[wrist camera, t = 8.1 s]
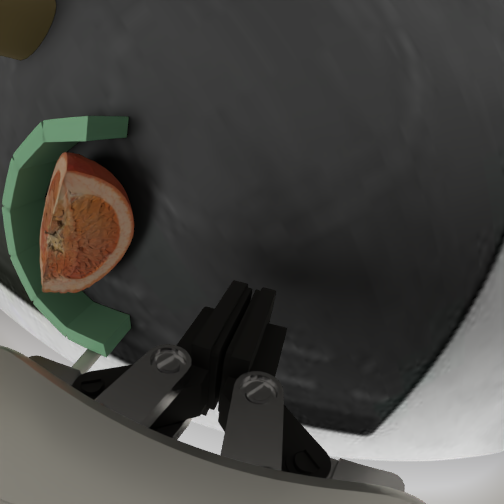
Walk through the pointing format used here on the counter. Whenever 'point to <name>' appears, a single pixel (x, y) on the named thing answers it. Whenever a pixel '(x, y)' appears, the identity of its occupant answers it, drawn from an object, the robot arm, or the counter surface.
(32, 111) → the counter surface
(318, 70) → the counter surface
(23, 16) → the cork
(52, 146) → the green segmented arc
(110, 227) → the fruit slice
